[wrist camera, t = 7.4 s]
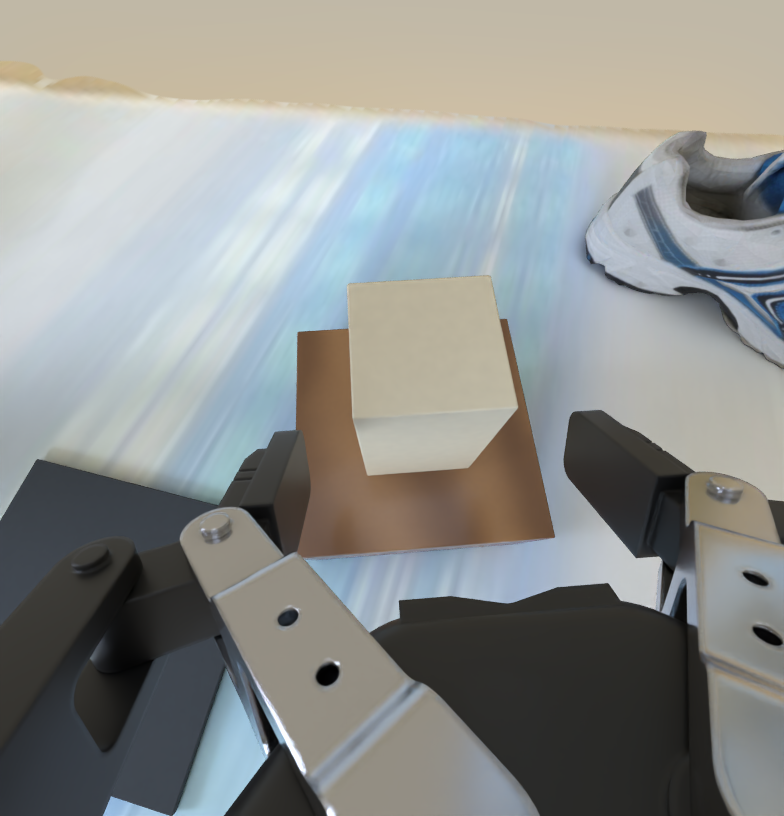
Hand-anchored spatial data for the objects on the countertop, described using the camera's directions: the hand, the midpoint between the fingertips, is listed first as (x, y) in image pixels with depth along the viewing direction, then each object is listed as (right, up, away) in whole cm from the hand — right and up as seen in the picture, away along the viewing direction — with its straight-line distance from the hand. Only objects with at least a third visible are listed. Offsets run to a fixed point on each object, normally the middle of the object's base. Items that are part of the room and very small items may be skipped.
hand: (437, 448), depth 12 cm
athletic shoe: (+24, +10, +19) cm, 32 cm away
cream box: (0, 0, +8) cm, 8 cm away
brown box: (0, -2, +14) cm, 14 cm away
